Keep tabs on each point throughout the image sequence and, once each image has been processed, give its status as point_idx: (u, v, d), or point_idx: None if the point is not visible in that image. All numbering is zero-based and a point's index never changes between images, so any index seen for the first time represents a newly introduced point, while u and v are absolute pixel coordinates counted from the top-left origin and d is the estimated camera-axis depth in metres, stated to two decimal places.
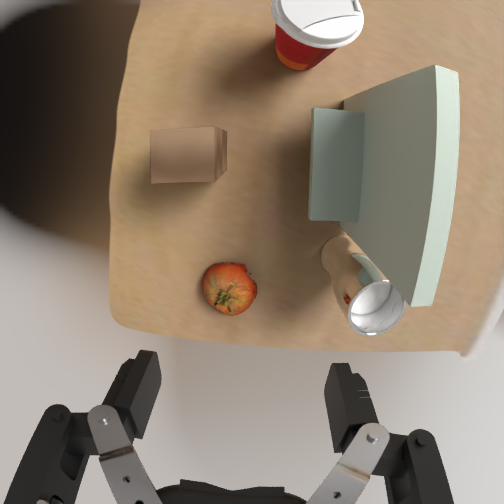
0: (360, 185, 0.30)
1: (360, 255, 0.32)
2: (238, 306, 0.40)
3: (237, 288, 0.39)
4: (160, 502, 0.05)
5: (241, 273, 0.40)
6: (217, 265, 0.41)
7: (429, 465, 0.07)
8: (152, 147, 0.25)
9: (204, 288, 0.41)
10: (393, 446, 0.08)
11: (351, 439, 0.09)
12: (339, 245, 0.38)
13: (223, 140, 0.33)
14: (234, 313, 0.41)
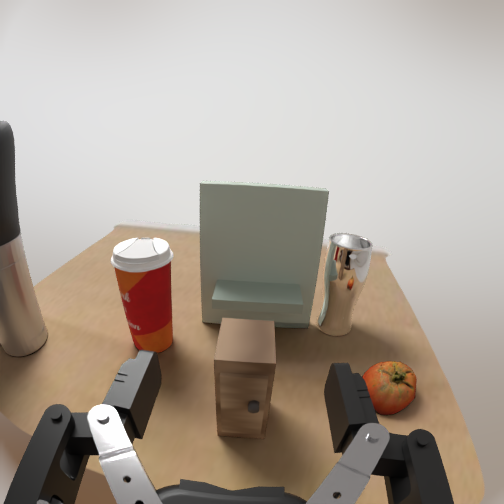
0: (271, 283, 0.44)
1: (323, 280, 0.44)
2: (401, 364, 0.33)
3: (383, 366, 0.33)
4: (160, 502, 0.05)
5: (368, 371, 0.34)
6: None
7: (429, 465, 0.07)
8: (234, 359, 0.23)
9: (396, 400, 0.29)
10: (393, 446, 0.08)
11: (351, 439, 0.09)
12: (324, 316, 0.46)
13: None
14: None
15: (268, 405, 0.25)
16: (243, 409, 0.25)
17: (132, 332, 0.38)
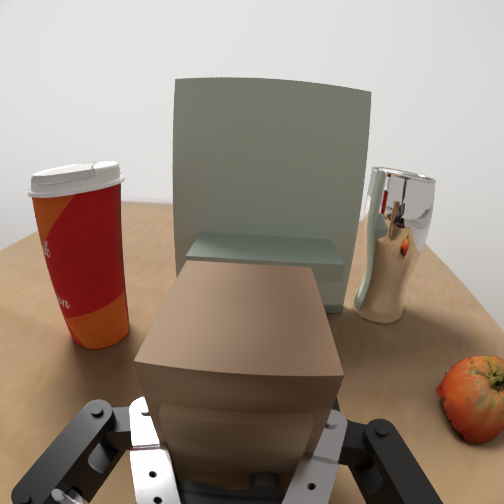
0: (287, 237, 0.27)
1: (366, 234, 0.27)
2: (496, 358, 0.16)
3: (475, 364, 0.16)
4: (179, 503, 0.06)
5: (451, 374, 0.17)
6: (455, 418, 0.14)
7: (395, 453, 0.07)
8: (200, 363, 0.07)
9: (499, 419, 0.12)
10: (352, 434, 0.09)
11: None
12: (365, 293, 0.29)
13: None
14: None
15: None
16: (237, 485, 0.08)
17: (63, 313, 0.22)
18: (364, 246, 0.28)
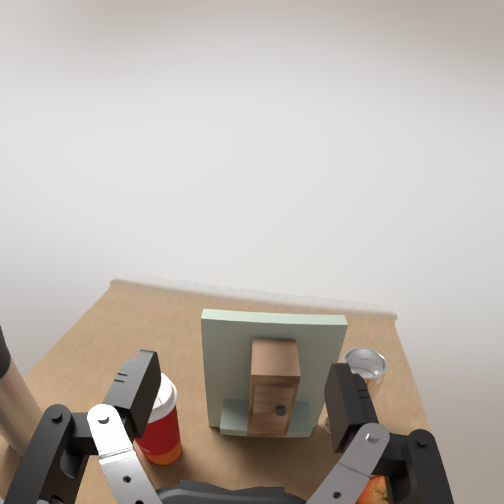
0: None
1: None
2: None
3: (377, 485, 0.27)
4: (160, 502, 0.05)
5: None
6: None
7: (429, 465, 0.07)
8: (267, 373, 0.28)
9: None
10: (393, 446, 0.08)
11: (351, 439, 0.09)
12: None
13: None
14: None
15: (292, 409, 0.30)
16: (271, 413, 0.30)
17: (141, 450, 0.33)
18: None
